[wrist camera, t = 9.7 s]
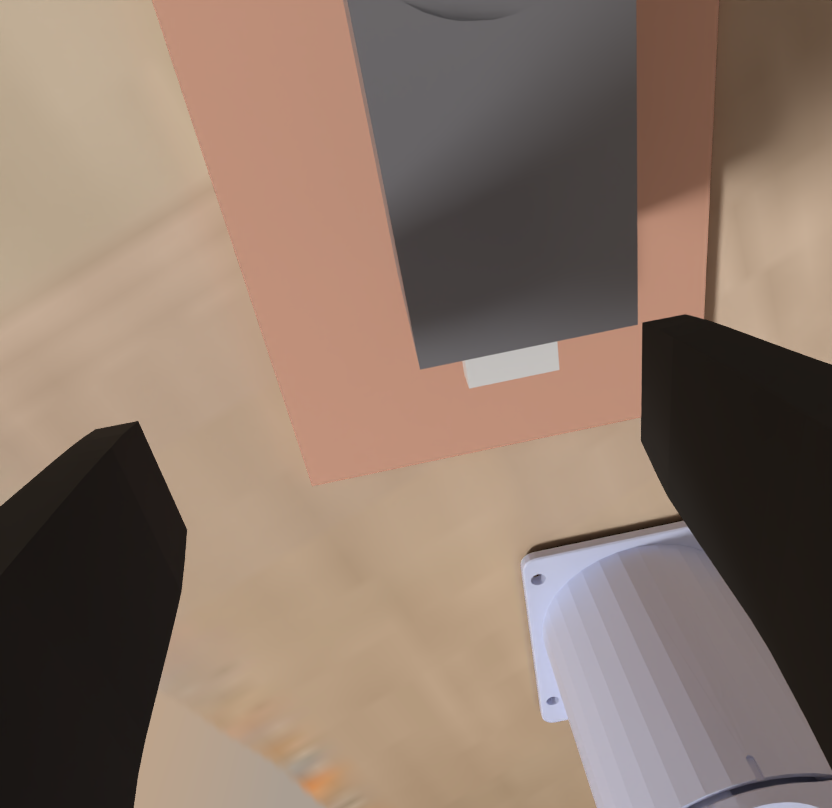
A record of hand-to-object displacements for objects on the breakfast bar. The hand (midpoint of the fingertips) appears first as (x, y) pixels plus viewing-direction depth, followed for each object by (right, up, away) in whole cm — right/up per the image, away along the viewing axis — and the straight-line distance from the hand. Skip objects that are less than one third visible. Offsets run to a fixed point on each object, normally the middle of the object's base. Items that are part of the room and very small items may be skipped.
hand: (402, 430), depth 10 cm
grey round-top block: (+1, +7, +6) cm, 10 cm away
